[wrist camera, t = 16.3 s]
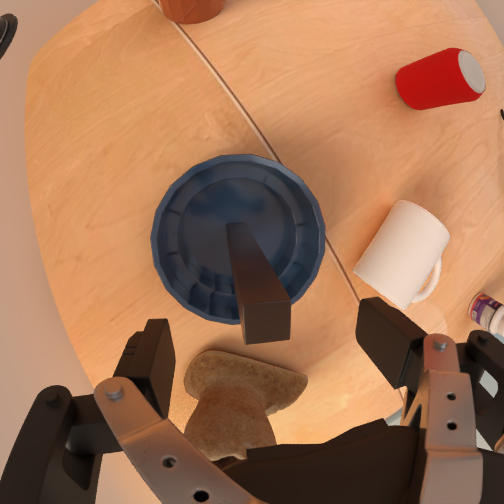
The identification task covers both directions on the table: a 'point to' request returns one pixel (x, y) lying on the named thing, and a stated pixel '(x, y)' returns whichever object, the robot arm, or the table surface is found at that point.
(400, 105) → the table surface
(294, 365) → the table surface
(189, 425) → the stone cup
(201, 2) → the holder
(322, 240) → the bowl
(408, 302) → the mug
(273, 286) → the stick
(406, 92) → the beverage can
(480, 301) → the pill bottle
